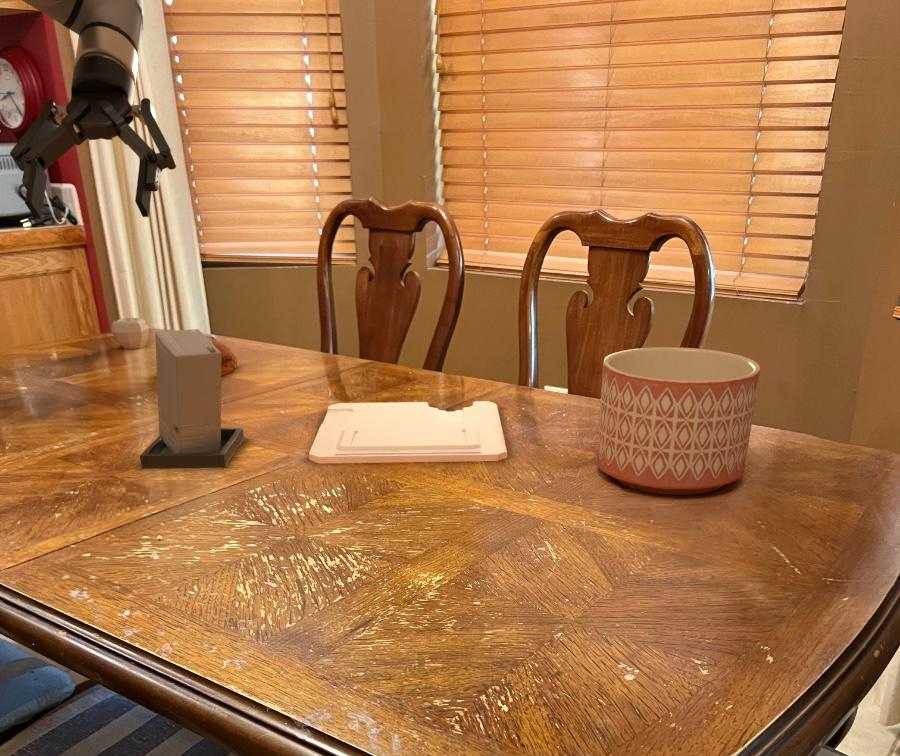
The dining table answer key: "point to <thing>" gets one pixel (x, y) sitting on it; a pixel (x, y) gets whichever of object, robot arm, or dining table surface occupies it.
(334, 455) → the tray
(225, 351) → the croissant
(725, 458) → the planter
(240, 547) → the dining table surface
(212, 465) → the pad
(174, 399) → the cosmetic box
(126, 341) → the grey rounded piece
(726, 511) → the dining table surface
